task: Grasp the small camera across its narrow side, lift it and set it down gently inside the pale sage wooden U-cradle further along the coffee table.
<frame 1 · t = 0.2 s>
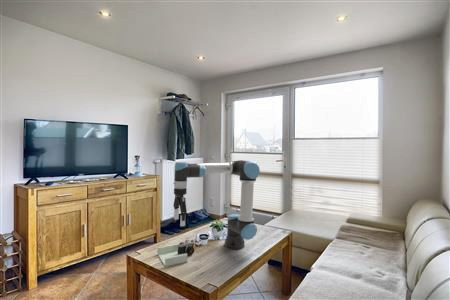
hand: (179, 222, 146), 27 cm above the table, fingers open, 13 cm apart
u cradle: (171, 258, 158), on the table
camera: (187, 253, 165), on the table, touching u cradle
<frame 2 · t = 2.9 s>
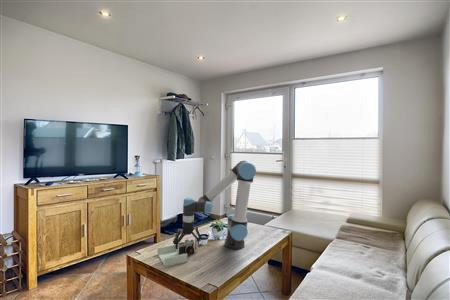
hand: (187, 251, 165), 1 cm above the table, fingers open, 13 cm apart
camera: (187, 253, 165), on the table, touching gripper, u cradle
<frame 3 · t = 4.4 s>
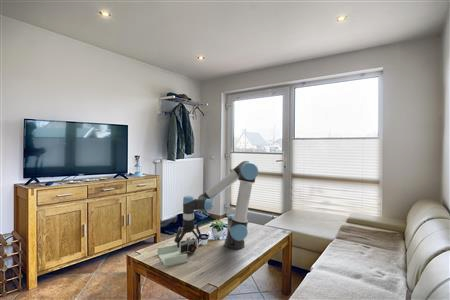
hand: (188, 250, 165), 2 cm above the table, fingers closed on camera, 12 cm apart
camera: (189, 251, 165), point 1 cm above the table, touching gripper
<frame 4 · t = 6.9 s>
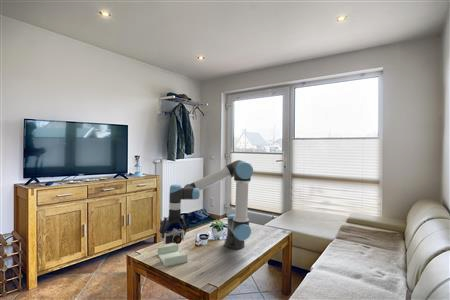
hand: (173, 241, 158), 11 cm above the table, fingers closed on camera, 12 cm apart
camera: (174, 243, 158), point 10 cm above the table, touching gripper
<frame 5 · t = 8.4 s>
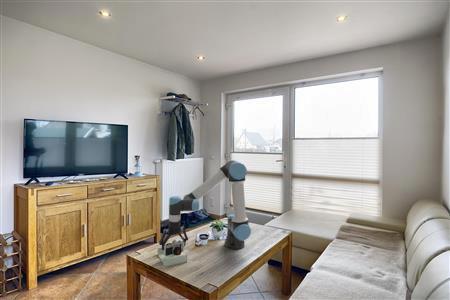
hand: (173, 253, 158), 3 cm above the table, fingers closed on camera, 12 cm apart
camera: (174, 254, 158), point 2 cm above the table, touching gripper
when the fingers open (3 cm above the table, at t = 9.3 s): camera drops 1 cm, resting on u cradle.
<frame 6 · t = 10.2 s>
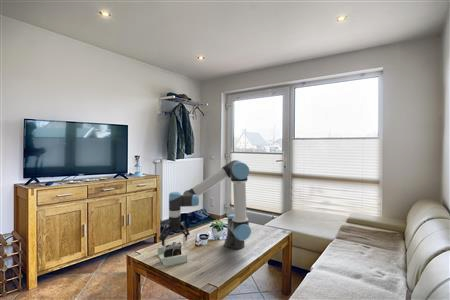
hand: (174, 248, 158), 7 cm above the table, fingers open, 13 cm apart
camera: (173, 256, 158), point 1 cm above the table, touching u cradle
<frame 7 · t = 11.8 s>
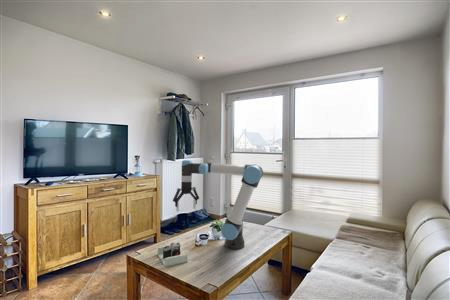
hand: (186, 210, 177), 27 cm above the table, fingers open, 13 cm apart
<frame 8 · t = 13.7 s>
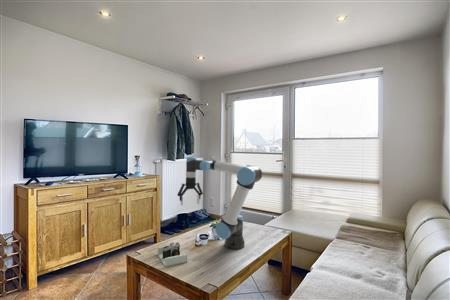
hand: (190, 204, 186), 29 cm above the table, fingers open, 13 cm apart
at the end: camera inside the target area on the u cradle (1.0 cm from its centre), point 0.4 cm above the u cradle's base; camera tilted 0°; the gripper is holding nothing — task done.
